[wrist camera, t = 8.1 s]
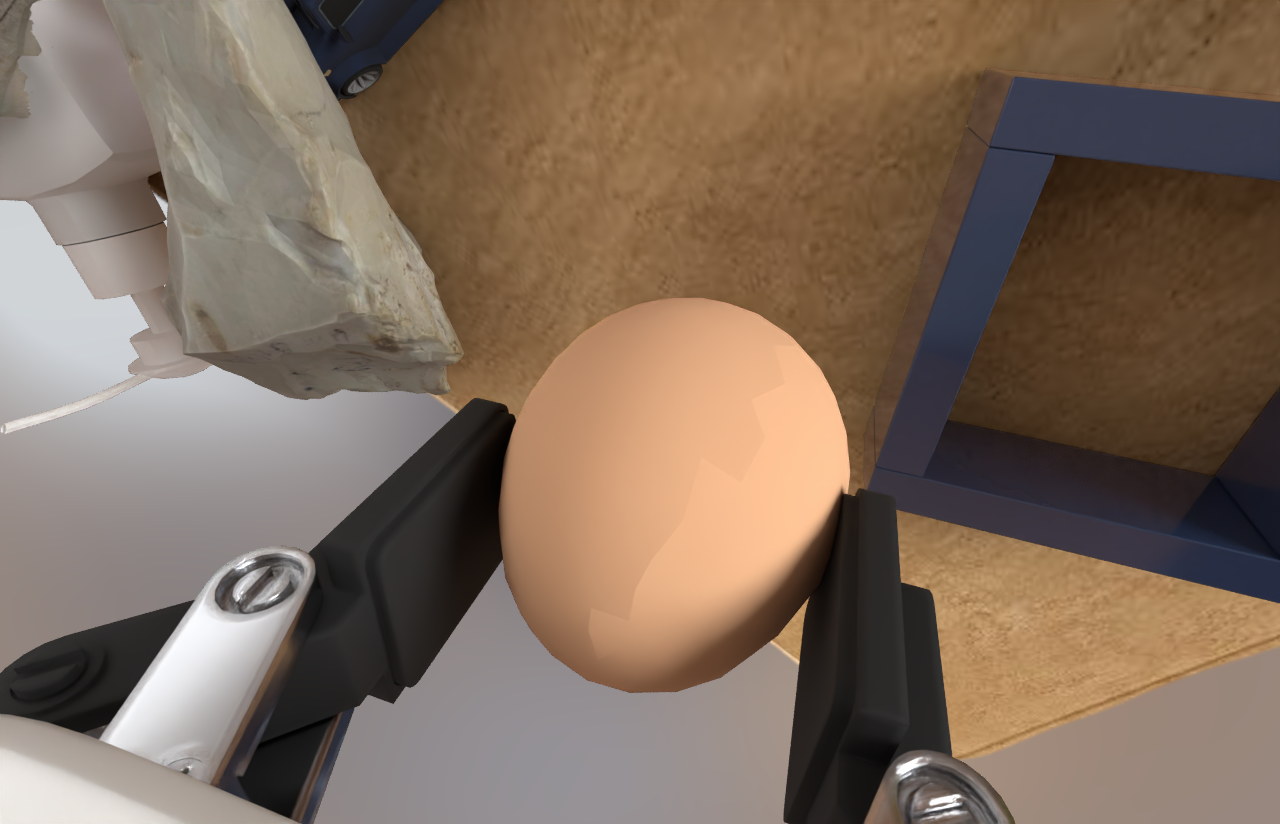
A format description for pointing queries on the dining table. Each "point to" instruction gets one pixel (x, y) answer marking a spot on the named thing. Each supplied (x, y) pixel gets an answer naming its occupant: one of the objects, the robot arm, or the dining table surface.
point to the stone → (276, 209)
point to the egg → (671, 494)
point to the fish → (15, 56)
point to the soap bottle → (93, 180)
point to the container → (963, 301)
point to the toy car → (357, 36)
